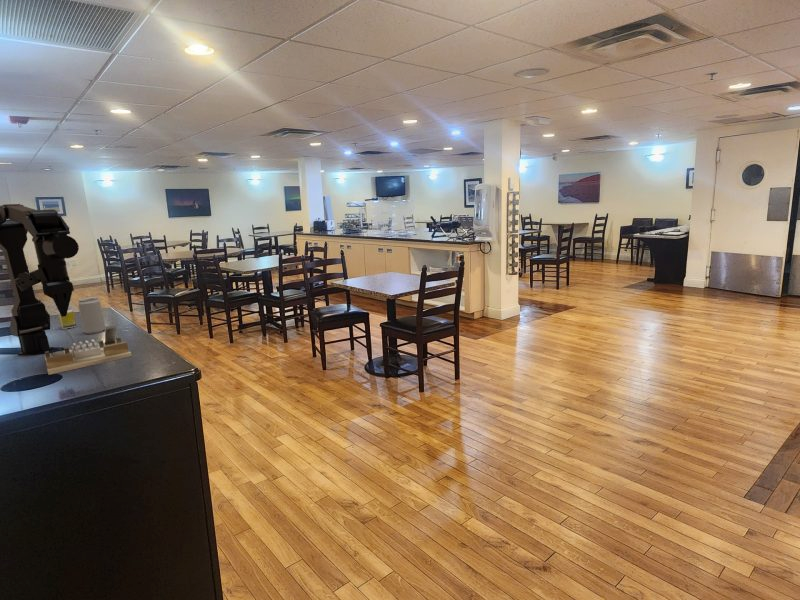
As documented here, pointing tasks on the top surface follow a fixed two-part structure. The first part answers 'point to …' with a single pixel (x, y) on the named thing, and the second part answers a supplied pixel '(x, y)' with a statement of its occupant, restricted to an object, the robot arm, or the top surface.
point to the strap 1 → (57, 353)
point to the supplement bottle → (67, 319)
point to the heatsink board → (88, 361)
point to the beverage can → (91, 315)
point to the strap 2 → (110, 335)
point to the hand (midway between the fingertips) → (63, 316)
